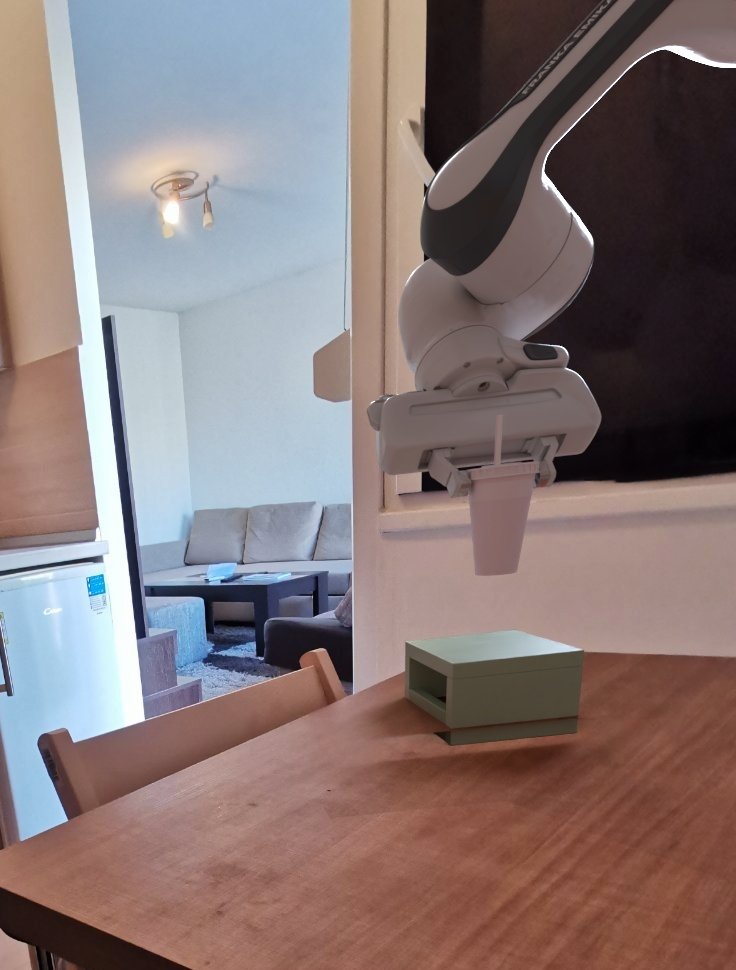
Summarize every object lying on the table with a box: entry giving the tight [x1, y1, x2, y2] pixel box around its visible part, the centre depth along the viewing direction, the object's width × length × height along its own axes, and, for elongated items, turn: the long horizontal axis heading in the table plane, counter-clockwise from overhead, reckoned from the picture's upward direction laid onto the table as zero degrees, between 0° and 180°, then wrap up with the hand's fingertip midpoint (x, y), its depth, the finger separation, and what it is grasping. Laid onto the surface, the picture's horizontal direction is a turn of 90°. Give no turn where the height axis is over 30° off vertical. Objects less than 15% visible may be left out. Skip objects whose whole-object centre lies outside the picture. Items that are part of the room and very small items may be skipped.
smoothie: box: [467, 414, 540, 577], centre depth 72 cm, size 6×6×14 cm
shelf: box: [404, 629, 585, 746], centre depth 78 cm, size 12×14×8 cm
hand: (503, 487), depth 71 cm, fingers closed on smoothie, 6 cm apart
